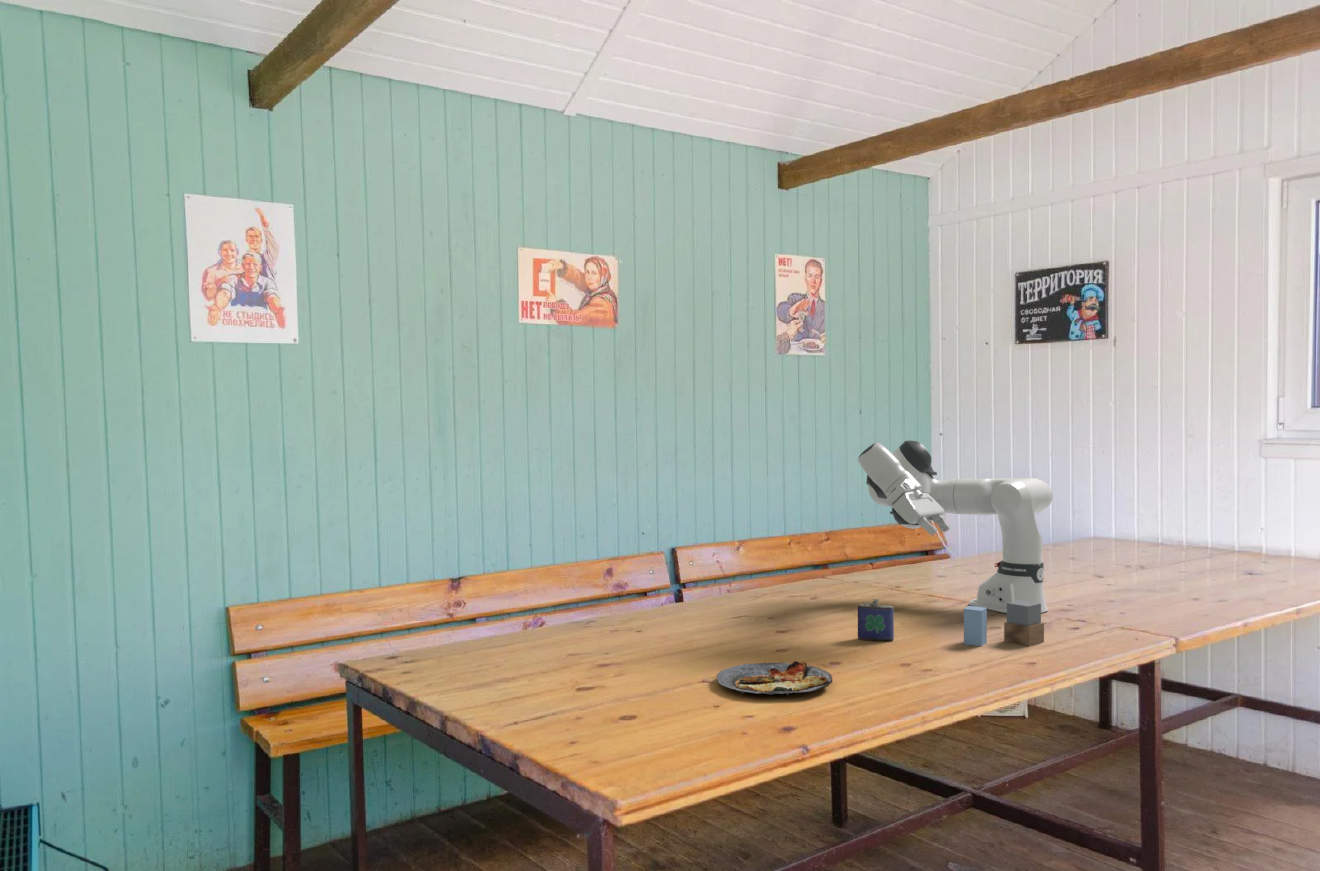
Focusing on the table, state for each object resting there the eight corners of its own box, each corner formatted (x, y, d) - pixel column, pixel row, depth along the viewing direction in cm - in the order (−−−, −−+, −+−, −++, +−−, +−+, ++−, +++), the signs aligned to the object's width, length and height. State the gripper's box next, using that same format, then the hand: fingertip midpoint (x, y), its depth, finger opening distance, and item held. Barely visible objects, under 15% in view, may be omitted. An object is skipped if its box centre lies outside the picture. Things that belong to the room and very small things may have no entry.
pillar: (963, 644, 247) (963, 608, 247) (968, 640, 251) (968, 605, 250) (981, 646, 244) (981, 610, 244) (986, 642, 248) (986, 607, 248)
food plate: (821, 669, 223) (820, 654, 223) (843, 700, 200) (843, 683, 200) (712, 674, 222) (712, 659, 222) (722, 705, 199) (722, 688, 199)
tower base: (1004, 641, 249) (1004, 622, 249) (1018, 637, 254) (1018, 618, 254) (1029, 646, 244) (1029, 626, 244) (1044, 642, 248) (1044, 622, 248)
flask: (894, 639, 252) (893, 598, 252) (893, 642, 249) (893, 600, 249) (857, 637, 255) (857, 597, 254) (857, 640, 252) (856, 599, 252)
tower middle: (1006, 622, 249) (1006, 602, 249) (1019, 619, 253) (1019, 600, 253) (1028, 626, 245) (1028, 606, 245) (1040, 622, 248) (1041, 603, 248)
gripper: (912, 499, 268) (946, 536, 262) (882, 501, 252) (918, 542, 246) (927, 483, 266) (962, 521, 260) (898, 485, 249) (935, 525, 243)
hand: (940, 531), depth 253 cm, fingers open, 8 cm apart
